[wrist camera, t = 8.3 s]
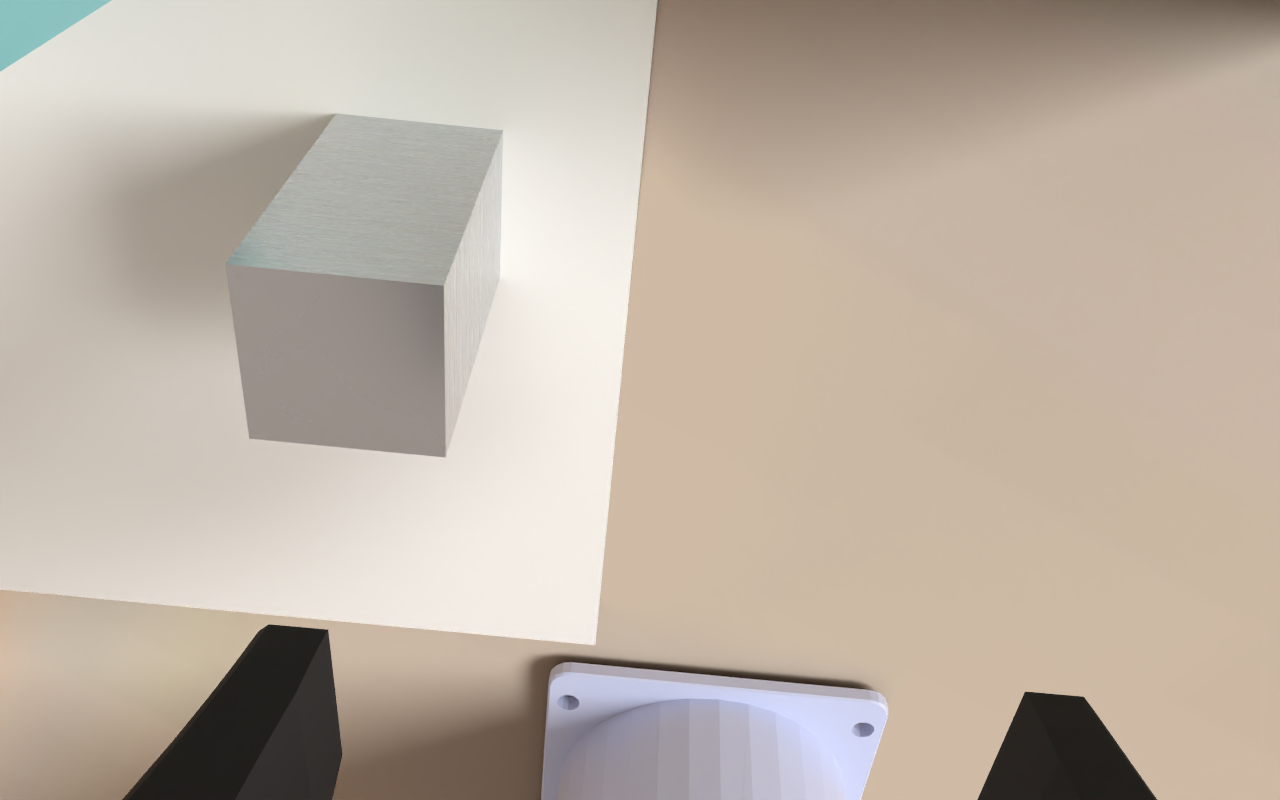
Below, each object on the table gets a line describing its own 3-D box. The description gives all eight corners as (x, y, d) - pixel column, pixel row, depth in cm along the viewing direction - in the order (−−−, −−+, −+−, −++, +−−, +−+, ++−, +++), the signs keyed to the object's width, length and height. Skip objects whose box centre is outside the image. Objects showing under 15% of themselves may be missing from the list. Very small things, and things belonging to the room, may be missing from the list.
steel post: (499, 277, 19) (445, 457, 15) (346, 261, 19) (249, 438, 15) (502, 130, 17) (443, 285, 13) (336, 113, 17) (225, 263, 13)
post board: (599, 594, 25) (595, 644, 24) (-26, 536, 25) (-64, 583, 24) (712, -572, 14) (715, -591, 13) (-440, -701, 14) (-554, -736, 12)
